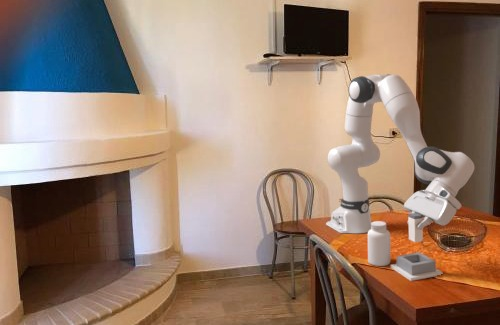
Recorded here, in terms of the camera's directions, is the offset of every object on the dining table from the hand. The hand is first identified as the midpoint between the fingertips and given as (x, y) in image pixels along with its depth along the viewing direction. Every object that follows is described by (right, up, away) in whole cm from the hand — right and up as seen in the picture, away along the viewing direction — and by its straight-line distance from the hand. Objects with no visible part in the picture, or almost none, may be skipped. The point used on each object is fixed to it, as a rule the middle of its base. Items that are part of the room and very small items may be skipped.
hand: (413, 226), depth 147 cm
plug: (+1, -5, +1) cm, 5 cm away
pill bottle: (-8, -15, +12) cm, 21 cm away
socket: (+2, -16, +3) cm, 16 cm away
